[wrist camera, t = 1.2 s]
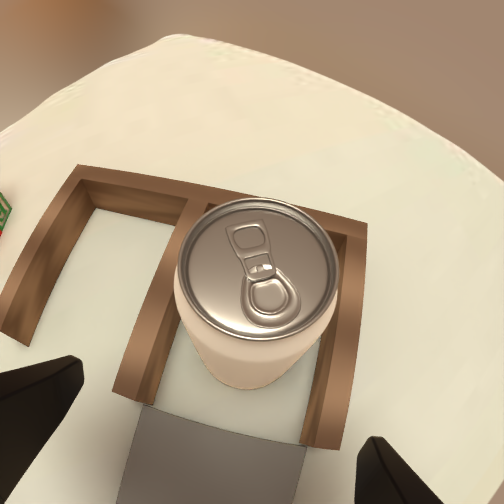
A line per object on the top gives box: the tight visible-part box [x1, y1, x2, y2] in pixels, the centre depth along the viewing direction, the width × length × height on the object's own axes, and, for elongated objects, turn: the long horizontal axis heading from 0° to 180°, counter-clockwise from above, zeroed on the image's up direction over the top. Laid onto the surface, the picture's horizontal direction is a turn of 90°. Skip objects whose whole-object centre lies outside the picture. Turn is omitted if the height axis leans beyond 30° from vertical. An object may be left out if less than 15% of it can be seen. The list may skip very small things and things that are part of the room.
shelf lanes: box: [0, 164, 368, 450], centre depth 21 cm, size 16×24×4 cm, turn 76°
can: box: [174, 197, 339, 390], centre depth 16 cm, size 6×6×12 cm
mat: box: [116, 405, 307, 504], centre depth 15 cm, size 10×11×1 cm
